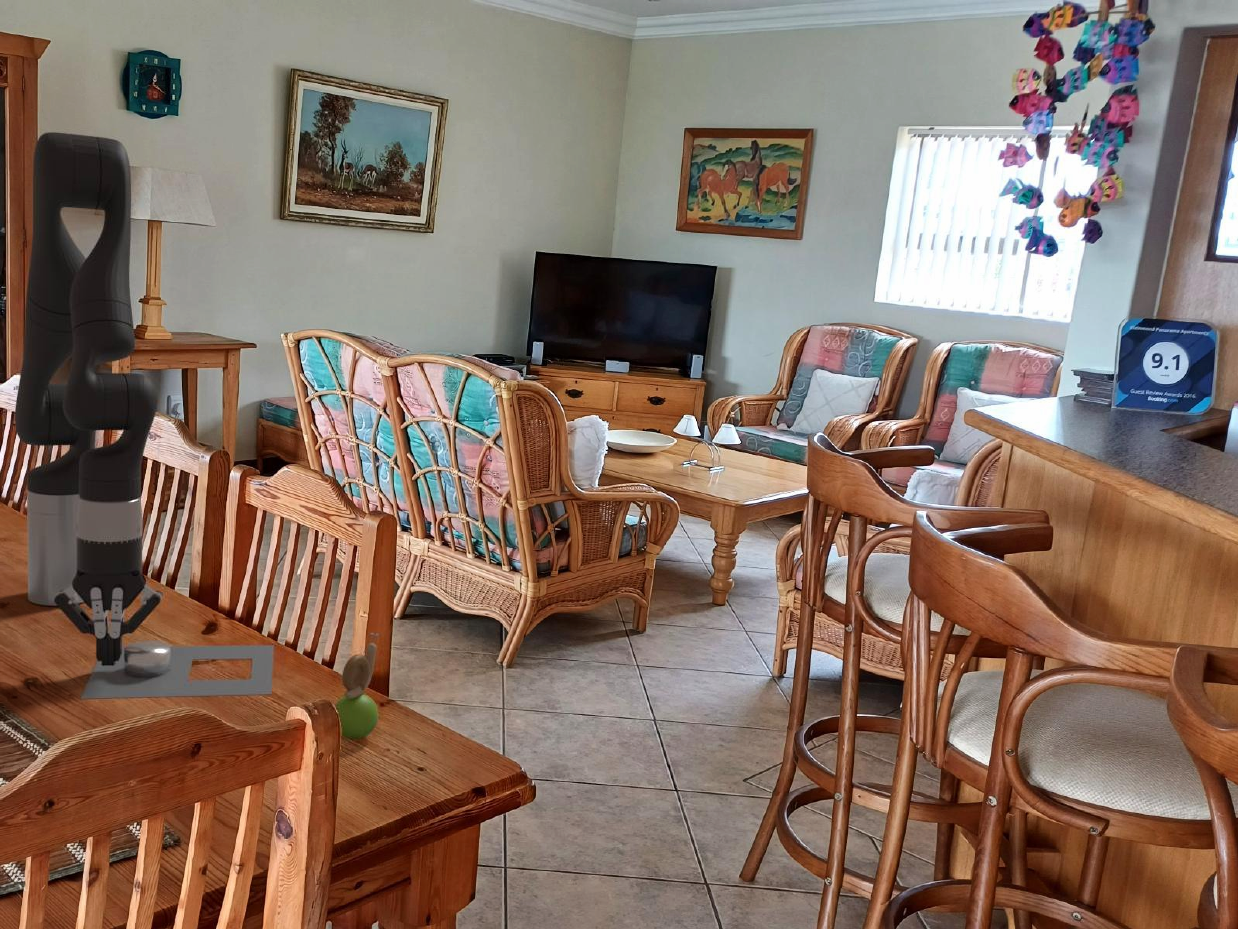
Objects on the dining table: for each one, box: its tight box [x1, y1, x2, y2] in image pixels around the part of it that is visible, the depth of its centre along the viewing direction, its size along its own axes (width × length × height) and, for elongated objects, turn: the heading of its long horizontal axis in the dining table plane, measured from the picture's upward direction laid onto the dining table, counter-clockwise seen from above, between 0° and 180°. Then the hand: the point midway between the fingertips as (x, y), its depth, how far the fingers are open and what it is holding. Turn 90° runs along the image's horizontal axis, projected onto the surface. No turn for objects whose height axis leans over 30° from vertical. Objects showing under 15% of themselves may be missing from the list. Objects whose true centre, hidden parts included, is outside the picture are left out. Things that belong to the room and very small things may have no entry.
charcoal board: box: [79, 644, 275, 700], centre depth 149 cm, size 22×18×2 cm
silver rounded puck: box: [124, 640, 171, 678], centre depth 148 cm, size 6×6×3 cm
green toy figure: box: [334, 632, 380, 740], centre depth 136 cm, size 5×6×12 cm
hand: (108, 663), depth 146 cm, fingers closed
